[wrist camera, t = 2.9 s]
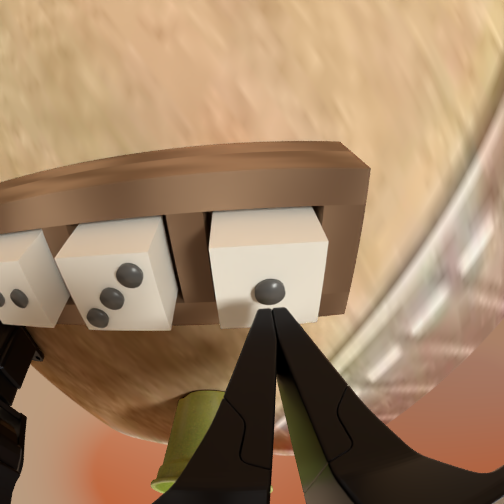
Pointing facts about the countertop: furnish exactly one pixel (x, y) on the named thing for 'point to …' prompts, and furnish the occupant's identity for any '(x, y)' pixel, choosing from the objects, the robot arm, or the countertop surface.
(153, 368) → the countertop surface
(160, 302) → the tile three dot
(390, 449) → the robot arm
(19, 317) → the tile two dot
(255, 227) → the tile one dot
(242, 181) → the tile board
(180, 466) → the plant pot
